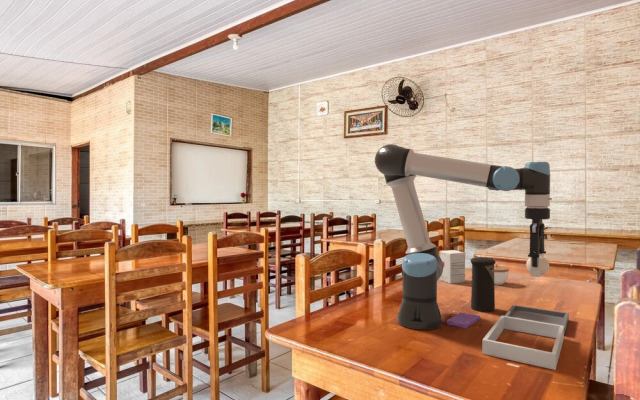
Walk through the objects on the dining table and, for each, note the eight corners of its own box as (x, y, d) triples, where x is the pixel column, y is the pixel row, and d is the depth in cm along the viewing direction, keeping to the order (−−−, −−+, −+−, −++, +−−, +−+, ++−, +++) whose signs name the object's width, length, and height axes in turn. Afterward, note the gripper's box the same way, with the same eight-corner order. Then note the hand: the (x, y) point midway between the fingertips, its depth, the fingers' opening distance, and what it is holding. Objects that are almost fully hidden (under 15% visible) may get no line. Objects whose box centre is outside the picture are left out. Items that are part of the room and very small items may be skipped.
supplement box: (439, 279, 204) (439, 250, 204) (454, 278, 207) (454, 249, 206) (450, 284, 195) (450, 253, 195) (465, 282, 198) (465, 252, 198)
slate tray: (564, 335, 127) (564, 327, 127) (503, 324, 138) (503, 317, 138) (568, 320, 142) (568, 313, 142) (512, 311, 152) (512, 304, 152)
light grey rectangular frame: (555, 370, 104) (555, 354, 103) (482, 353, 114) (482, 339, 114) (563, 338, 125) (563, 325, 125) (501, 327, 135) (501, 315, 135)
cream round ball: (541, 272, 141) (541, 253, 141) (553, 277, 134) (553, 257, 133) (521, 273, 141) (521, 254, 141) (533, 277, 133) (533, 257, 133)
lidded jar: (479, 282, 199) (479, 263, 198) (495, 280, 203) (495, 261, 203) (497, 287, 189) (497, 267, 188) (513, 284, 193) (513, 265, 193)
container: (497, 312, 150) (497, 259, 150) (472, 311, 152) (472, 259, 152) (492, 306, 159) (492, 255, 158) (468, 305, 161) (468, 255, 160)
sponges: (446, 325, 139) (446, 320, 139) (460, 316, 148) (460, 311, 148) (466, 330, 134) (466, 324, 134) (480, 320, 144) (480, 315, 144)
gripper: (545, 209, 126) (545, 281, 127) (553, 206, 142) (553, 270, 143) (519, 208, 131) (519, 278, 131) (530, 205, 147) (530, 268, 147)
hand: (537, 274), depth 137 cm, fingers closed on cream round ball, 7 cm apart
